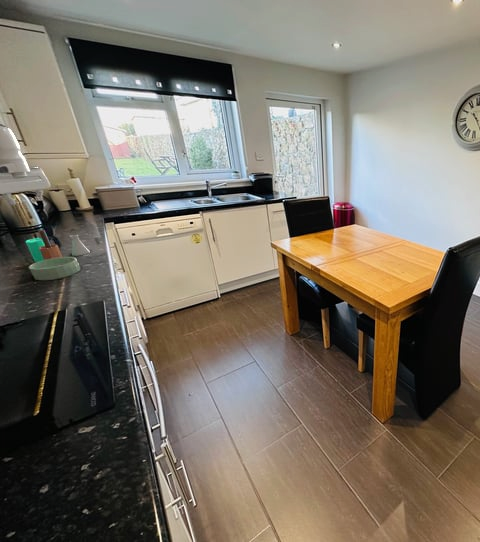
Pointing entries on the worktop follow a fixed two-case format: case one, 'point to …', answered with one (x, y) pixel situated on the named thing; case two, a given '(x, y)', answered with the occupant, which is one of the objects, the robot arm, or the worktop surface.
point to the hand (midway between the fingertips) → (27, 202)
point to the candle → (35, 248)
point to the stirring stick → (44, 238)
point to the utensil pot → (50, 252)
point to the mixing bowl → (54, 268)
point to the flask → (78, 246)
